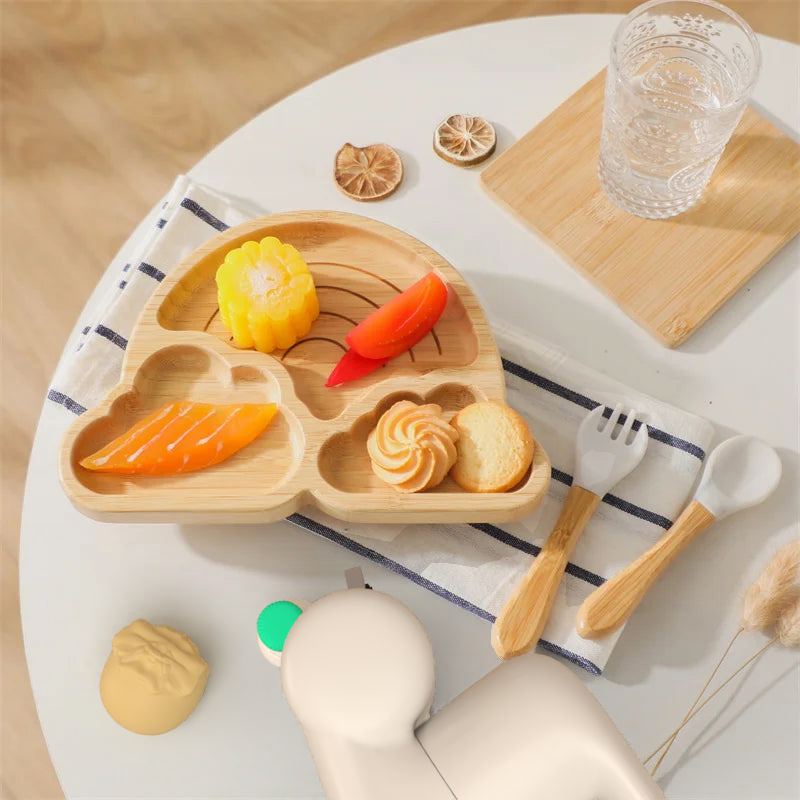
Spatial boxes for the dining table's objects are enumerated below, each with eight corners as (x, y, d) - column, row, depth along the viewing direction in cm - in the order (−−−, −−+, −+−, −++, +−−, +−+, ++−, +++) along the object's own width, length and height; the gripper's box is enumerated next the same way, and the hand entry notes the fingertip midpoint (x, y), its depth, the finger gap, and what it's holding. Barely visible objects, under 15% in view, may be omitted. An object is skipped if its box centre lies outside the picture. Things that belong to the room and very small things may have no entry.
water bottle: (320, 607, 111) (289, 571, 88) (354, 656, 109) (331, 632, 85) (272, 643, 110) (228, 616, 86) (305, 692, 107) (269, 678, 84)
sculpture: (233, 663, 109) (213, 655, 99) (173, 754, 106) (145, 756, 96) (158, 612, 111) (131, 599, 101) (97, 699, 108) (62, 695, 98)
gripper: (473, 818, 51) (465, 801, 67) (396, 526, 57) (406, 574, 73) (344, 855, 51) (367, 829, 67) (280, 557, 57) (315, 598, 73)
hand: (387, 695), depth 70 cm, fingers open, 9 cm apart
